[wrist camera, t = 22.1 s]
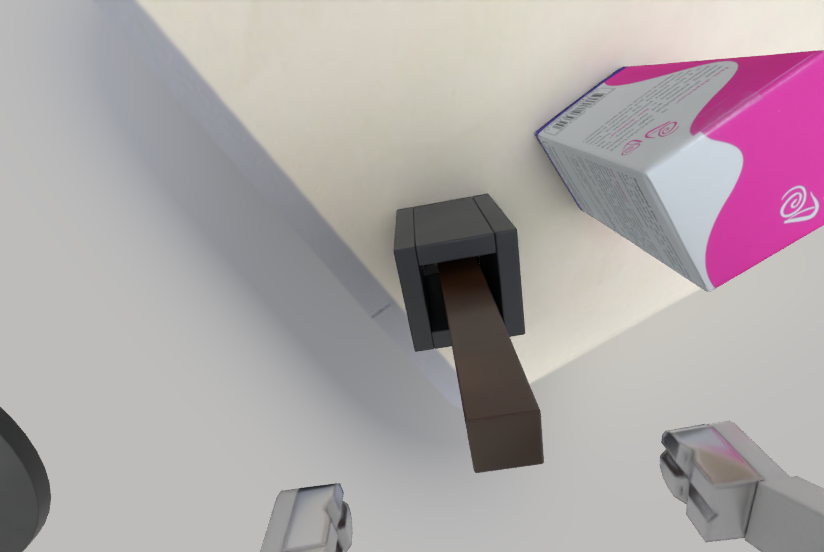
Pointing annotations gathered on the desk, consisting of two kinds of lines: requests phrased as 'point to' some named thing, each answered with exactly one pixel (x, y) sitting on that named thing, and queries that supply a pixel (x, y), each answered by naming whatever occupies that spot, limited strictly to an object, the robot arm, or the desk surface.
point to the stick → (489, 374)
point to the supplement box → (700, 158)
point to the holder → (451, 240)
